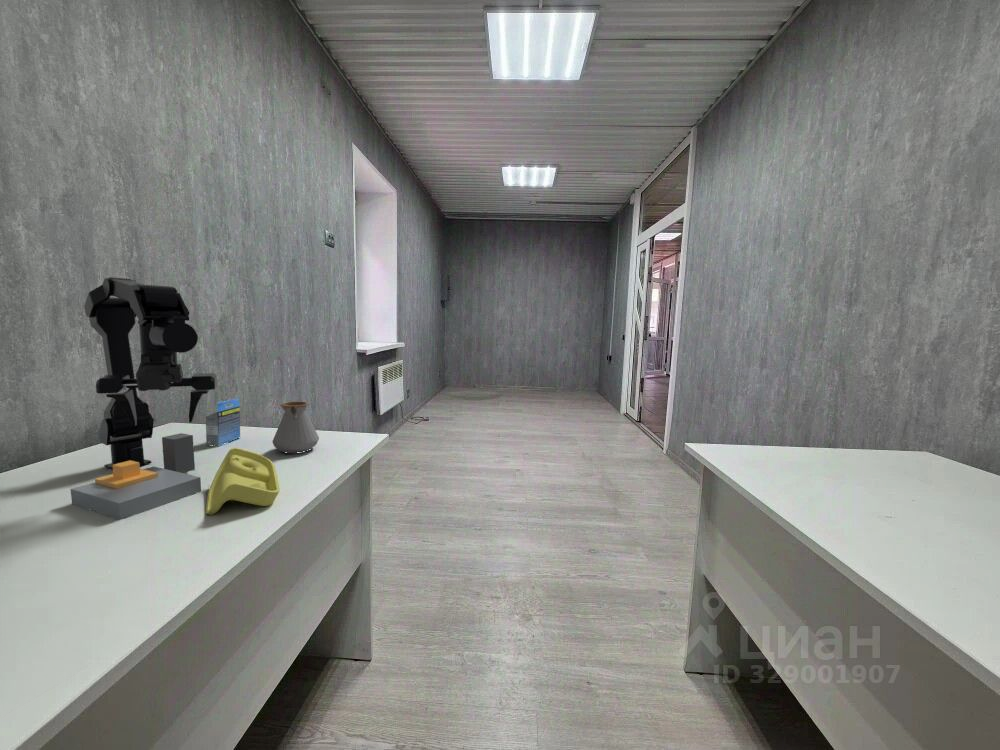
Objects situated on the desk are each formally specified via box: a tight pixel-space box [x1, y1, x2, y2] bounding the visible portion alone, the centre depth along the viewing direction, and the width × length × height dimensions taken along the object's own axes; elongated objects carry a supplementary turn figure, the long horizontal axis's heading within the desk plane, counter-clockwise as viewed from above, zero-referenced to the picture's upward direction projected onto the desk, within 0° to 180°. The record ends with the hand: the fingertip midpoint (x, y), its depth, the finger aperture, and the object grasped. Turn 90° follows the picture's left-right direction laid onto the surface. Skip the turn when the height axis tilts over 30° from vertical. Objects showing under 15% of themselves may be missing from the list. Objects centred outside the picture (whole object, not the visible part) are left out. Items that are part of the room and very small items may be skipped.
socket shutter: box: [94, 460, 158, 489], centre depth 85 cm, size 7×7×3 cm
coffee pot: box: [272, 401, 320, 453], centre depth 112 cm, size 21×12×15 cm, turn 24°
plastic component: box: [205, 447, 280, 516], centre depth 88 cm, size 20×7×10 cm
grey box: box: [161, 432, 196, 474], centre depth 96 cm, size 4×4×9 cm
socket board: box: [70, 466, 202, 520], centre depth 84 cm, size 15×14×3 cm
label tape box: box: [205, 397, 241, 447], centre depth 122 cm, size 9×4×12 cm, turn 174°
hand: (163, 423), depth 89 cm, fingers open, 9 cm apart
